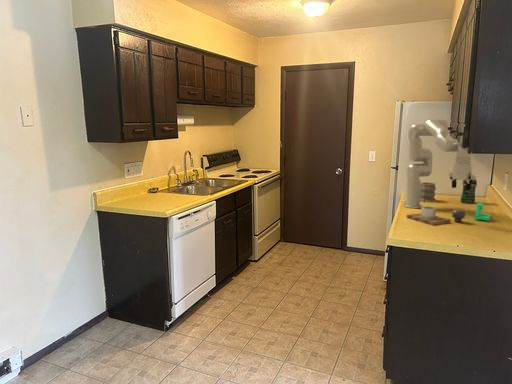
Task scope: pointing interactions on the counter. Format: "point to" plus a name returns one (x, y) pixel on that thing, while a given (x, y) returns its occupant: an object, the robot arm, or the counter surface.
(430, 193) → the tankard
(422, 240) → the counter surface
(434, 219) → the pipe flange plate
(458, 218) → the grey sphere
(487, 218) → the camera mount
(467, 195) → the coffee jar
